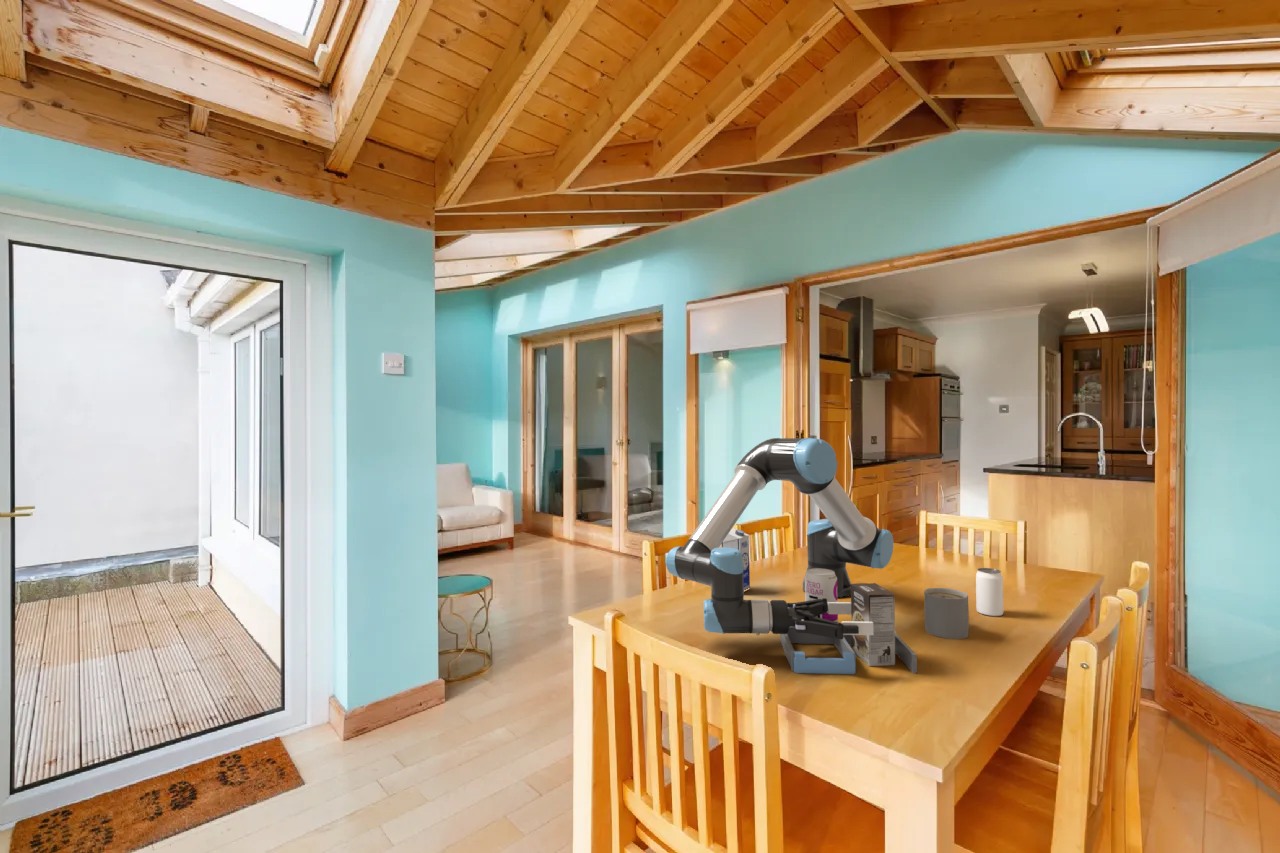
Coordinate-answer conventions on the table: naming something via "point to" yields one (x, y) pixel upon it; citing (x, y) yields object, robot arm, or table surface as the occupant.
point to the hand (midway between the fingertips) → (864, 617)
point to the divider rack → (834, 664)
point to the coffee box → (874, 623)
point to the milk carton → (741, 543)
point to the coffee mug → (946, 613)
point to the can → (989, 592)
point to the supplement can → (821, 588)
